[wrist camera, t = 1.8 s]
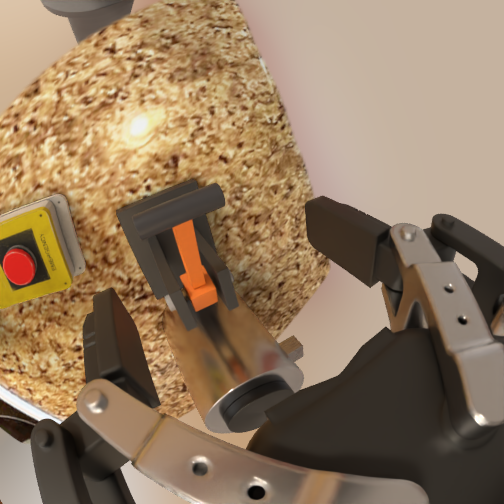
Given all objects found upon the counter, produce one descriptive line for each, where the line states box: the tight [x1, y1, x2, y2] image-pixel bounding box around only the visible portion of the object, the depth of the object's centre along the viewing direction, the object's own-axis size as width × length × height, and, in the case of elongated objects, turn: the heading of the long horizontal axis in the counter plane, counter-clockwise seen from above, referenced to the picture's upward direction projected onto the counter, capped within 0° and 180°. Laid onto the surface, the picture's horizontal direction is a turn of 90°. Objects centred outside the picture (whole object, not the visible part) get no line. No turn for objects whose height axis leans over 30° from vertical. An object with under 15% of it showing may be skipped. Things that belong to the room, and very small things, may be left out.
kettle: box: [162, 289, 304, 433], centre depth 32 cm, size 14×14×17 cm
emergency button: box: [0, 194, 86, 309], centre depth 19 cm, size 9×4×15 cm
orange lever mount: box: [116, 179, 239, 331], centre depth 26 cm, size 12×9×12 cm
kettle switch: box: [132, 183, 225, 312], centre depth 19 cm, size 12×5×2 cm, turn 11°
